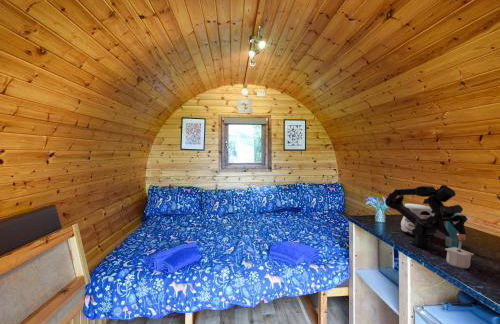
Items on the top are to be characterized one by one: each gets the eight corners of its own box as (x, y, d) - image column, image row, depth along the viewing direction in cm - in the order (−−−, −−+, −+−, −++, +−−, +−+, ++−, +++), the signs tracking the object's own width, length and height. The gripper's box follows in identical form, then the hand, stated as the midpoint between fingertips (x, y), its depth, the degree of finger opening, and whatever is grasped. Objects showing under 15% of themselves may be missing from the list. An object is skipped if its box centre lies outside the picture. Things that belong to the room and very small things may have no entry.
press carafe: (442, 261, 114) (444, 248, 114) (456, 258, 118) (457, 246, 118) (462, 269, 107) (464, 255, 107) (475, 266, 111) (477, 253, 110)
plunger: (448, 251, 113) (450, 232, 113) (455, 250, 115) (457, 231, 115) (462, 257, 108) (464, 236, 108) (469, 255, 110) (471, 235, 110)
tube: (459, 247, 133) (463, 213, 132) (459, 250, 130) (463, 215, 129) (442, 243, 138) (446, 210, 137) (441, 245, 135) (445, 211, 134)
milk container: (406, 237, 145) (409, 207, 144) (396, 228, 162) (398, 202, 161) (439, 241, 141) (442, 211, 140) (425, 232, 158) (428, 205, 157)
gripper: (433, 197, 116) (453, 228, 106) (465, 199, 119) (488, 228, 109) (417, 209, 124) (435, 239, 114) (448, 210, 127) (468, 239, 117)
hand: (457, 236), depth 113 cm, fingers open, 9 cm apart
